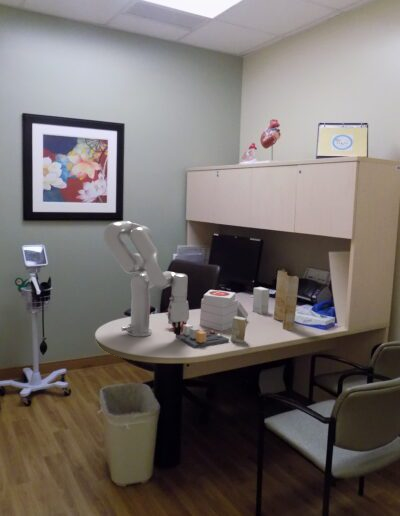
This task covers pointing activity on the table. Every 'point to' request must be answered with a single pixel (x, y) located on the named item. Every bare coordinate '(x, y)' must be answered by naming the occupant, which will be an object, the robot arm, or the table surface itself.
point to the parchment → (286, 299)
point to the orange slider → (201, 336)
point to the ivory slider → (187, 329)
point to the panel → (211, 339)
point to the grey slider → (193, 332)
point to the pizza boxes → (220, 309)
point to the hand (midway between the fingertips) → (177, 334)
